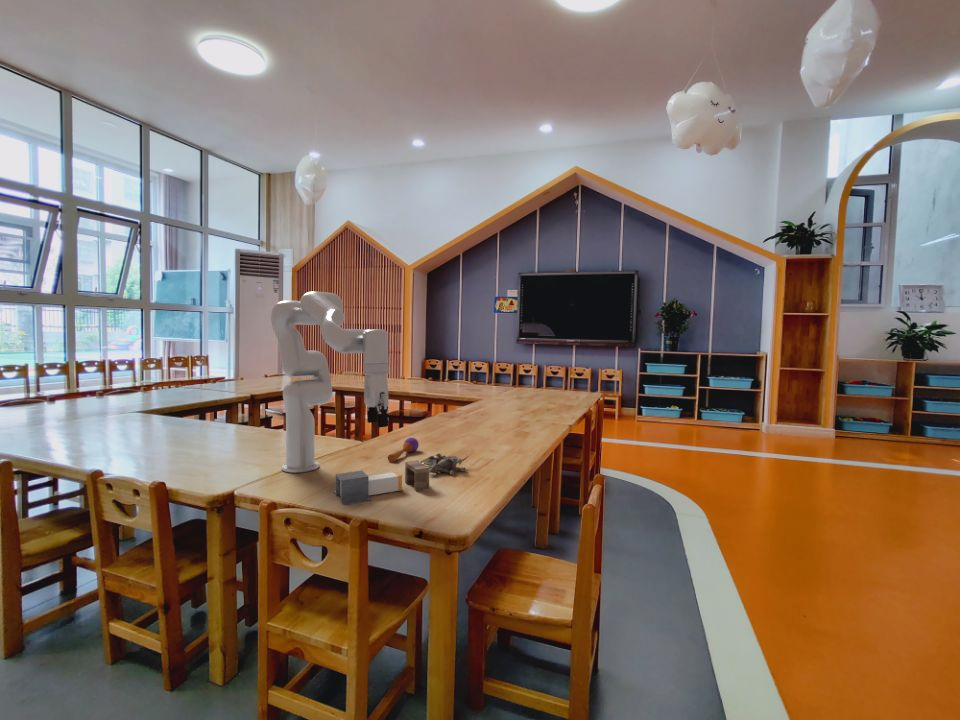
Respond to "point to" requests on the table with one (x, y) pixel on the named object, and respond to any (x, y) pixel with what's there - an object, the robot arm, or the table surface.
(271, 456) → the table surface
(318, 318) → the robot arm
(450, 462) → the figurine
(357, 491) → the sleeve
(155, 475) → the table surface
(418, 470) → the socket block
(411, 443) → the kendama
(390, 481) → the white block
